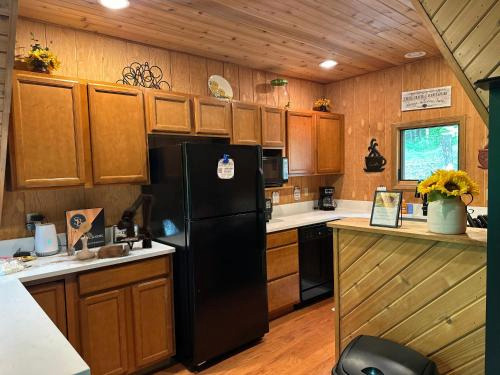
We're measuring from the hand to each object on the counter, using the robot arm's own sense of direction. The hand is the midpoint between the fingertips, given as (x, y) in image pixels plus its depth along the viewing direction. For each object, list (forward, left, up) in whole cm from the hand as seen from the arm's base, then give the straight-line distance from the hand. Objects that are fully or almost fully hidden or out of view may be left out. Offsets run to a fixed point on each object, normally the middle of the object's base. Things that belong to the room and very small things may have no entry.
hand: (131, 250), depth 237 cm
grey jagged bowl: (+9, 0, -2) cm, 9 cm away
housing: (+13, 0, -2) cm, 13 cm away
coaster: (+7, 0, -1) cm, 7 cm away
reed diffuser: (+40, -12, -3) cm, 42 cm away
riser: (+4, -13, -2) cm, 14 cm away
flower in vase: (+28, +3, -3) cm, 28 cm away
